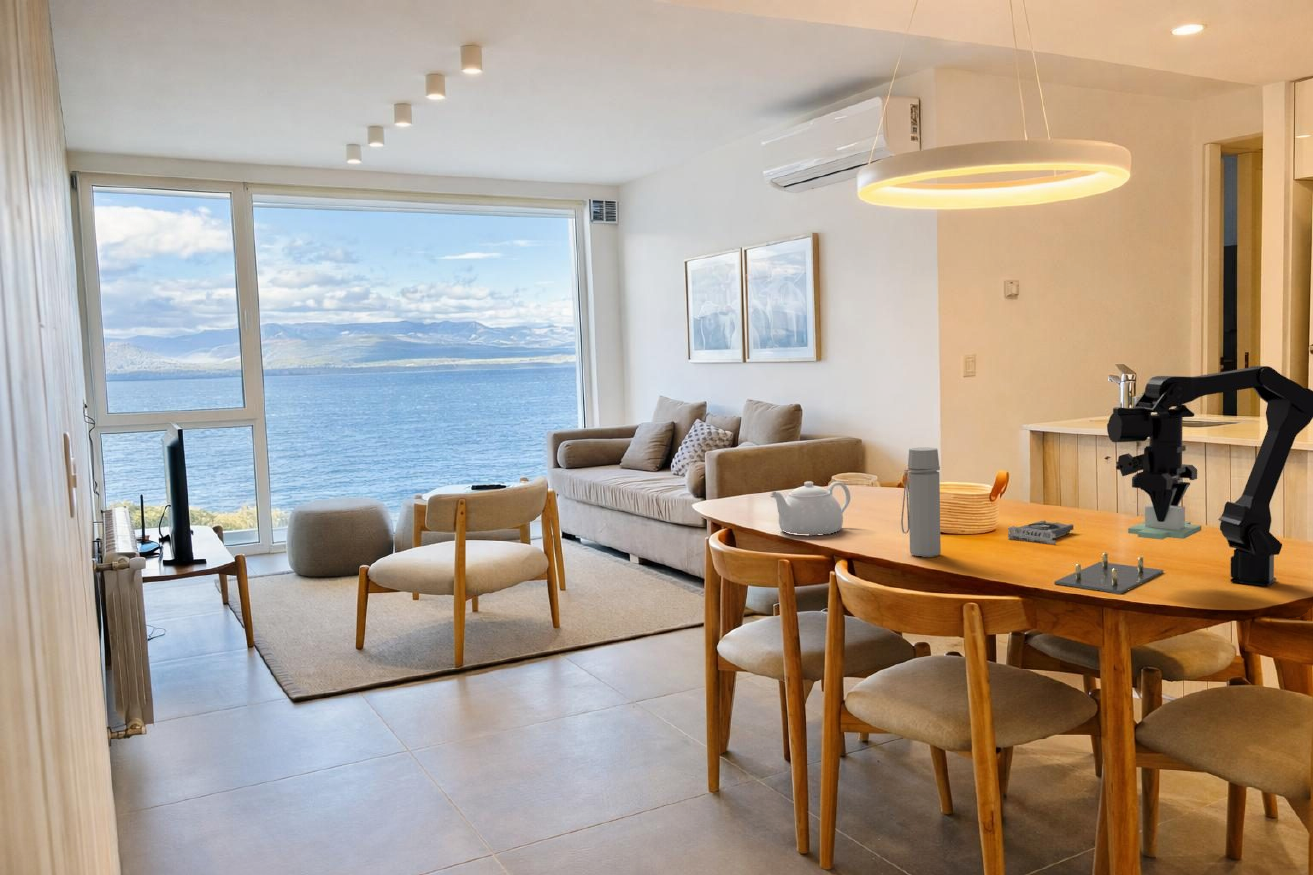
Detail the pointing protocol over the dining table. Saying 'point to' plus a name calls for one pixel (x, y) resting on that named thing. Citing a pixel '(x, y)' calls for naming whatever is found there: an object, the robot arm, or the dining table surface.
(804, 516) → the teapot
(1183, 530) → the board
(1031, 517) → the dining table surface
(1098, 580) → the plate
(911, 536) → the water bottle
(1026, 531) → the graphics card
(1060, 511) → the dining table surface
